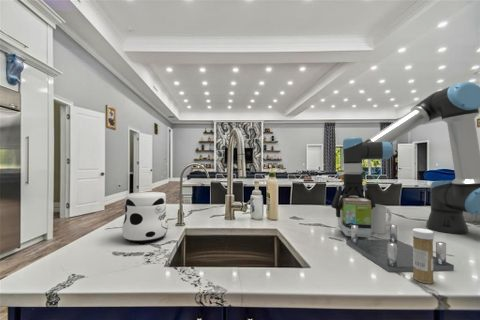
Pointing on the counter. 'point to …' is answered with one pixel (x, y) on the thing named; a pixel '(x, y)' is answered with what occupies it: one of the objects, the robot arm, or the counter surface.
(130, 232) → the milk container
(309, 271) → the counter surface
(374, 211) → the mug
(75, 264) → the counter surface
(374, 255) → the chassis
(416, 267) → the sprinkles bottle
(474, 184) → the robot arm
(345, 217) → the tea box
